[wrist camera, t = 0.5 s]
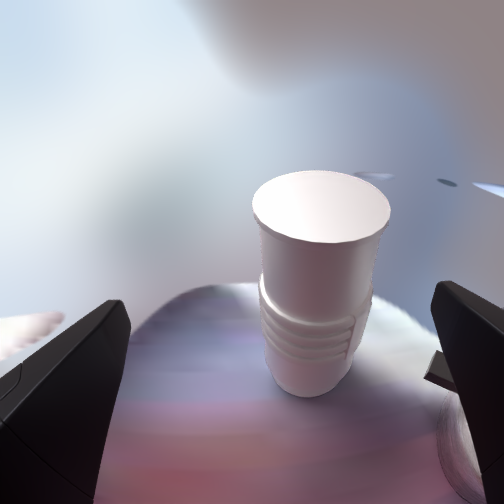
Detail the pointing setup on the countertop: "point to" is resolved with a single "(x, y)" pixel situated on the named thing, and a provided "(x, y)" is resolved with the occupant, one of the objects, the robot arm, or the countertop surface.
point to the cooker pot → (455, 437)
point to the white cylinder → (316, 274)
